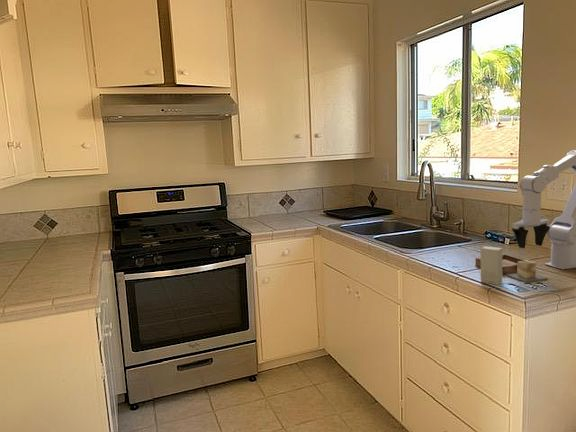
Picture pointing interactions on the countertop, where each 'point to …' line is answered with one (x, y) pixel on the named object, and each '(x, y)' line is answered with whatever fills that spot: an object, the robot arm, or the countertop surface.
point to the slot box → (505, 264)
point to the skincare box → (491, 265)
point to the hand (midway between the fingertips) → (530, 246)
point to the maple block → (526, 269)
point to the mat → (527, 280)
